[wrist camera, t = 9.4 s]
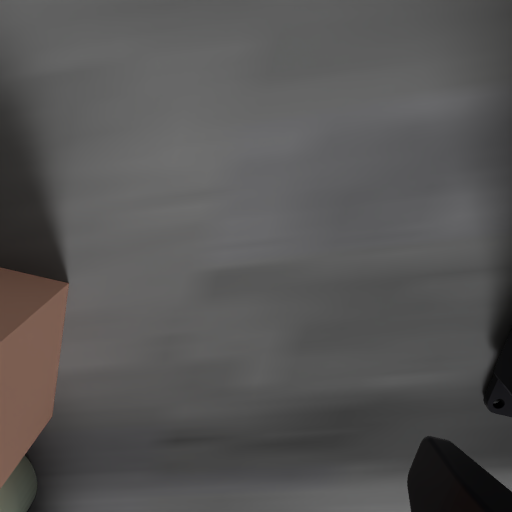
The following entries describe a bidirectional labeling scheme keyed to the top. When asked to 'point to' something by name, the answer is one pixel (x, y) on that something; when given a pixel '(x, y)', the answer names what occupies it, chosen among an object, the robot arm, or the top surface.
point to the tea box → (27, 360)
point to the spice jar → (19, 488)
